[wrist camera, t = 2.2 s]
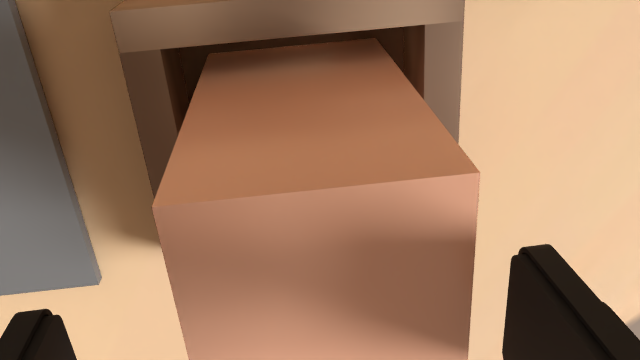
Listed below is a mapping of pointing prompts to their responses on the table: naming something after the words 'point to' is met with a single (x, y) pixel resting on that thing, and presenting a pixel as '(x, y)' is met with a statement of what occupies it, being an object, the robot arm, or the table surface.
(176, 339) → the table surface
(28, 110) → the rubber mat
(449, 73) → the frame
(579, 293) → the robot arm
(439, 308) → the peach block with tab
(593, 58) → the table surface
